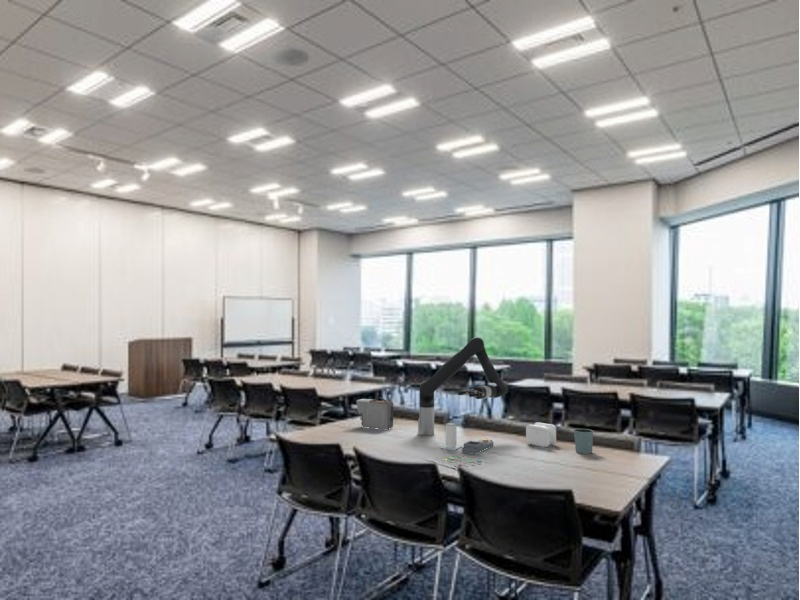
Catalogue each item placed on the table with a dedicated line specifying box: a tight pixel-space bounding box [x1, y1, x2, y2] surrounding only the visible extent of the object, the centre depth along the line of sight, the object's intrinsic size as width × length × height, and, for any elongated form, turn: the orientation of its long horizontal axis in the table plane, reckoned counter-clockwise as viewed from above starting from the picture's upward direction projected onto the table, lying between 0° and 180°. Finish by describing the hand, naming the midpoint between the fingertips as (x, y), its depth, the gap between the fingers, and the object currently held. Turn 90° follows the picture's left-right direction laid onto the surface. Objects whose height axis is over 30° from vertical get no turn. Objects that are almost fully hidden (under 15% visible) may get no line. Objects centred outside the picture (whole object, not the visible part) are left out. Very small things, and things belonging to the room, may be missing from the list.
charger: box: [445, 422, 457, 448], centre depth 307 cm, size 4×4×13 cm
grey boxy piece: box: [356, 384, 394, 430], centre depth 364 cm, size 12×24×30 cm, turn 67°
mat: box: [439, 444, 463, 451], centre depth 307 cm, size 9×9×1 cm
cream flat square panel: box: [444, 455, 485, 467], centre depth 279 cm, size 30×30×2 cm
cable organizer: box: [525, 421, 557, 448], centre depth 315 cm, size 15×11×12 cm
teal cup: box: [573, 428, 594, 455], centre depth 298 cm, size 10×10×12 cm
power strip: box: [461, 438, 494, 455], centre depth 307 cm, size 8×30×4 cm, turn 147°
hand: (464, 394), depth 315 cm, fingers open, 8 cm apart
